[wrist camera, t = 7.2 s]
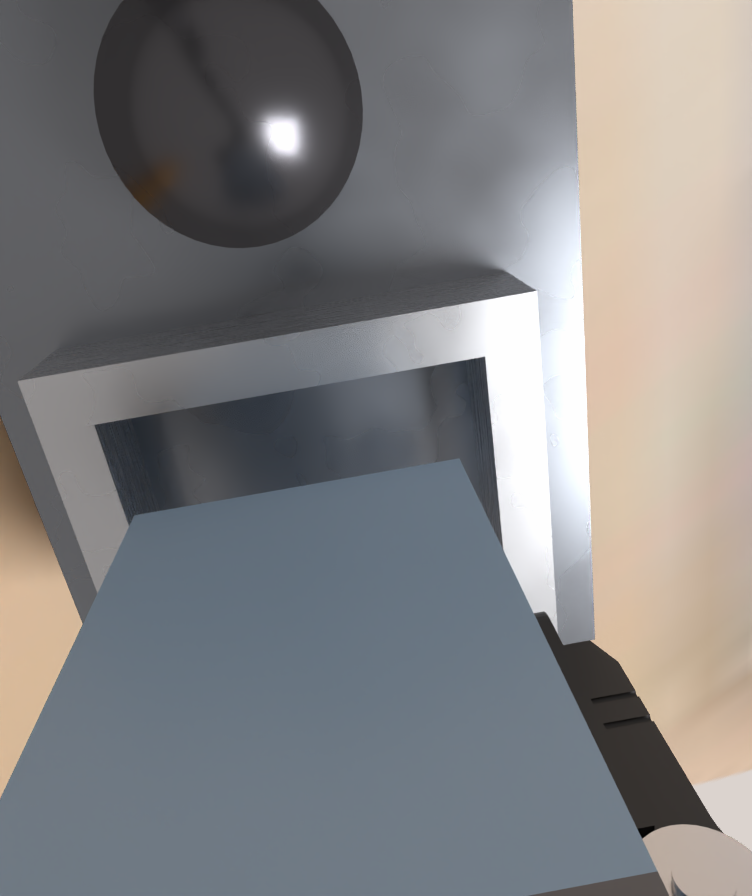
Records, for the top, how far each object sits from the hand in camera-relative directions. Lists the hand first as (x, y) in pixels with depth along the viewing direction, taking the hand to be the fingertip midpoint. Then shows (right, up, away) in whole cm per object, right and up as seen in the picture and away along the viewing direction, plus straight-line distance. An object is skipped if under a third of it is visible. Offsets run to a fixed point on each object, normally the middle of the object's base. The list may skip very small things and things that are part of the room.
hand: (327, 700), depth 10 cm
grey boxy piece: (-1, +8, +11) cm, 13 cm away
